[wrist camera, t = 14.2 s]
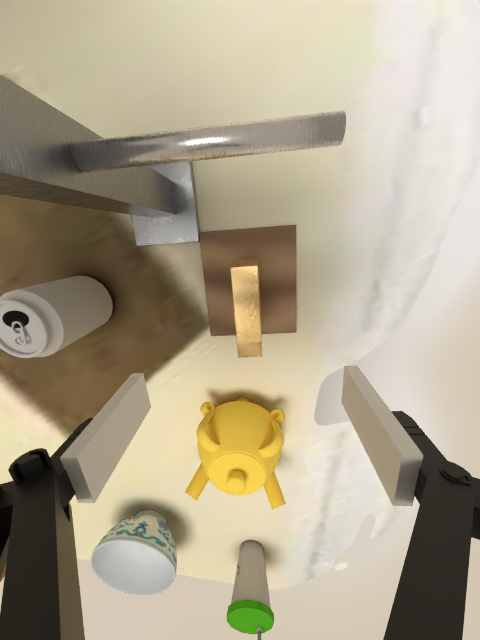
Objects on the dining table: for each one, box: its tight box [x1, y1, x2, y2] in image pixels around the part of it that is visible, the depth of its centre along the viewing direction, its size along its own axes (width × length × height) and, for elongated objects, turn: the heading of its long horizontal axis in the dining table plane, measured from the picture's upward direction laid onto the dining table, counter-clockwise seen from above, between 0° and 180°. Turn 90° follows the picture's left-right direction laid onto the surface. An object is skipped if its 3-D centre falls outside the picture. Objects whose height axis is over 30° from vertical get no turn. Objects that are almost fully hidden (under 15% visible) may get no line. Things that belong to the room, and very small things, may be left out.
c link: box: [231, 257, 262, 357], centre depth 29 cm, size 9×2×10 cm, turn 4°
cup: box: [227, 540, 274, 640], centre depth 44 cm, size 8×8×15 cm
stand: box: [0, 75, 346, 246], centre depth 19 cm, size 10×20×24 cm, turn 94°
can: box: [0, 276, 113, 358], centre depth 30 cm, size 8×8×12 cm
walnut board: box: [199, 225, 296, 336], centre depth 33 cm, size 14×12×1 cm
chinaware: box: [90, 510, 177, 596], centre depth 47 cm, size 15×15×8 cm
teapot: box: [185, 397, 286, 510], centre depth 36 cm, size 14×14×11 cm
